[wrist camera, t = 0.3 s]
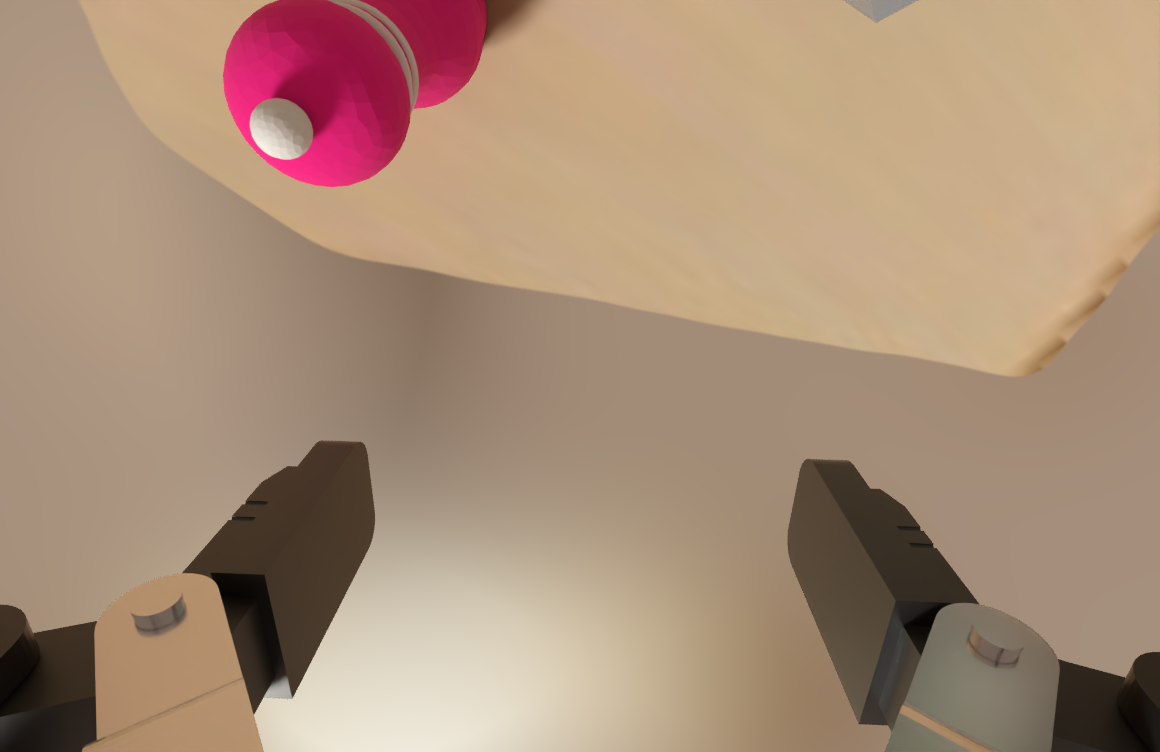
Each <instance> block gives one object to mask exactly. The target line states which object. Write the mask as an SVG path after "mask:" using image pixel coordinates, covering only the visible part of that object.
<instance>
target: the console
mask: <svg viewBox="0 0 1160 752" xmlns="http://www.w3.org/2000/svg"><path fill="white" fill-rule="evenodd" d="M844 1H845V2H847V3H848V4H849V5H851V6H852V7H854V8H855V9H857V10H858V11H860V12H861V13H863V14H864V15H866V16H867V17H868V18H870V19H871V20H873V21H874V22H876V23H877V22H879V21H881V20H882V19H884V18H886V17H888V16H890V15H892V14H894V13H895V12H897V11H899V10H901V9H903V8H905V7H906V6H908V5H910V4H912V3H914V2H916V1H917V0H844Z"/></svg>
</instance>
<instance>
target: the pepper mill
mask: <svg viewBox="0 0 1160 752" xmlns="http://www.w3.org/2000/svg"><path fill="white" fill-rule="evenodd" d="M486 25H487V13H486V3H485V0H278V1H275V2H273V3H270V4H267V5H265V6H264V7H262V8H260V9H259V10H257V11H256V12H255V13H253V14H252V15H251V16H250V17H249V18H248V19H247V20H246V21H245V22H243V24H242V25H241V26H240V28H239V29H238V31H237V32H236V33H235V35H234V36H233V39H232V41H231V43H230V46H229V48H228V50H227V53H226V58H225V65H224V72H223V80H224V92H225V97H226V100H227V103H228V107H229V110H230V112H231V114H232V116H233V119H234V121H235V123H236V125H237V127H238V128H239V130H240V132H241V133H242V135H243V136H244V138H245V140H246V141H247V142H248V143H249V144H250V146H251V147H252V148H253V149H254V150H255V151H256V152H257V154H259V155H260V156H261V157H262V158H263V159H264V160H265V161H266V162H268V163H269V164H270V165H272V166H273V167H275V168H276V169H277V170H279V171H280V172H282V173H283V174H286V175H288V176H290V177H292V178H294V179H296V180H298V181H301V182H305V183H309V184H312V185H317V186H327V187H337V186H348V185H352V184H354V183H357V182H360V181H363V180H366V179H369V178H370V177H372V176H374V175H376V174H377V173H378V172H379V171H381V170H382V169H383V168H384V167H386V166H387V165H388V164H389V163H390V162H391V161H392V159H393V158H394V157H395V155H396V154H397V153H398V151H399V150H400V148H401V146H402V144H403V142H404V140H405V137H406V134H407V130H408V127H409V123H410V114H411V112H412V110H413V109H416V108H426V107H430V106H434V105H437V104H440V103H442V102H444V101H446V100H447V99H449V98H450V97H452V96H453V95H455V94H456V93H457V92H458V91H460V90H461V89H462V88H463V87H464V86H465V85H466V84H467V83H468V82H469V80H470V78H471V77H472V75H473V74H474V72H475V70H476V68H477V65H478V63H479V60H480V56H481V52H482V46H483V39H484V35H485V32H486Z"/></svg>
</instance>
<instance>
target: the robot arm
mask: <svg viewBox="0 0 1160 752" xmlns="http://www.w3.org/2000/svg"><path fill="white" fill-rule="evenodd" d="M371 487H372V486H371V479H370V470H369V463H368V455H367V450H366V447H365V445H364V444H363V443H362V442H348V441H347V442H346V441H319V442H317V443H316V444H315V446H314V447H313V448H312V449H311V451H310V452H309V453H308V454H307V455H306V457H305V458H304V459H303V460H302V461H301V463H300V464H299V465H298V466H297V467H292V466H287V467H286V468H284V469H283V470H281V471H279V472H278V473H276V474H274V475H273V476H271V477H270V478H268V479H266V480H265V481H263V482H262V483H261V484H260V485H259V486H258V487H257V488H256V489H255V491H254V492H253V493H252V494H251V495H250V496H249V497H248V499H247V500H246V504H245V505H242V506H241V507H240V508H239V509H238V510H237V511H236V512H235V513H234V515H233V516H232V520H228V521H227V523H226V524H225V525H224V526H223V527H222V528H221V529H220V531H219V532H218V533H217V534H216V535H215V536H214V537H213V538H212V540H211V541H210V542H209V543H208V544H207V546H205V548H204V549H203V550H202V551H201V552H200V553H199V555H198V556H197V557H196V558H195V559H194V560H193V561H192V562H191V564H190V565H189V566H188V567H187V568H186V569H185V570H184V571H183V573H182V574H173V575H168V576H164V577H160V578H157V579H154V580H151V581H148V582H146V583H144V584H141V585H139V586H137V587H135V588H133V589H131V590H130V591H128V592H126V593H125V594H123V595H122V596H120V597H119V598H118V599H116V600H115V601H114V602H113V603H111V604H110V605H109V606H108V607H107V608H106V609H105V611H104V612H103V613H102V614H101V616H100V617H99V619H98V621H95V622H90V623H85V624H79V625H74V626H69V627H63V628H58V629H53V630H48V631H43V632H37V633H33V632H32V630H31V627H30V626H29V623H28V620H27V618H26V616H25V614H24V613H23V612H22V610H20V609H18V608H16V607H13V606H9V605H0V752H264V751H263V747H262V744H261V740H260V737H259V733H258V729H257V725H256V722H255V718H254V713H255V712H256V710H257V708H258V706H259V705H260V703H261V701H262V699H263V698H284V699H292V698H293V696H294V694H295V692H296V690H297V688H298V686H299V685H300V683H301V681H302V679H303V677H304V675H305V673H306V671H307V669H308V667H309V665H310V663H311V661H312V659H313V657H314V655H315V653H316V651H317V649H318V647H319V645H320V643H321V641H322V639H323V637H324V635H325V633H326V631H327V629H328V628H329V626H330V623H331V622H332V620H333V618H334V616H335V614H336V612H337V610H338V608H339V606H340V604H341V602H342V600H343V598H344V596H345V594H346V592H347V590H348V588H349V586H350V584H351V582H352V580H353V578H354V576H355V574H356V573H357V570H358V569H359V566H360V564H361V563H362V561H363V559H364V557H365V555H366V553H367V551H368V549H369V547H370V544H371V541H372V538H373V533H374V525H375V510H374V502H373V494H372V488H371ZM788 552H789V557H790V562H791V564H792V567H793V569H794V572H795V574H796V577H797V579H798V581H799V584H800V586H801V588H802V591H803V593H804V595H805V598H806V600H807V603H808V605H809V607H810V610H811V612H812V614H813V617H814V619H815V621H816V624H817V626H818V629H819V631H820V633H821V636H822V638H823V640H824V642H825V645H826V647H827V650H828V652H829V655H830V657H831V659H832V661H833V664H834V666H835V669H836V671H837V674H838V676H839V678H840V681H841V683H842V685H843V688H844V690H845V693H846V695H847V697H848V700H849V702H850V704H851V707H852V709H853V711H854V714H855V716H856V719H857V721H858V723H859V724H872V725H888V726H889V728H890V730H891V732H892V733H891V736H890V739H889V742H888V744H887V747H886V750H885V752H1160V652H1151V653H1145V654H1143V655H1140V656H1139V657H1138V658H1137V659H1136V660H1135V661H1134V663H1133V665H1132V667H1131V669H1130V671H1129V673H1128V675H1127V676H1126V678H1125V677H1121V676H1117V675H1113V674H1110V673H1106V672H1103V671H1099V670H1095V669H1091V668H1088V667H1084V666H1080V665H1076V664H1073V663H1069V662H1065V661H1062V660H1059V659H1057V656H1056V654H1055V653H1054V651H1053V649H1052V648H1051V647H1050V645H1049V644H1048V643H1047V642H1046V641H1045V640H1044V639H1043V638H1042V637H1041V636H1040V635H1039V634H1038V633H1037V632H1035V631H1034V630H1033V629H1032V628H1030V627H1029V626H1027V625H1026V624H1025V623H1023V622H1022V621H1020V620H1018V619H1016V618H1014V617H1013V616H1011V615H1008V614H1006V613H1004V612H1002V611H999V610H997V609H994V608H991V607H987V606H984V605H980V604H979V603H978V602H977V600H976V599H975V598H974V596H973V595H972V594H971V593H970V591H969V590H968V589H967V587H966V586H965V585H964V584H963V582H962V581H961V580H960V578H959V577H958V576H957V574H956V573H955V572H954V570H953V569H952V568H951V566H950V565H949V564H948V562H947V561H946V560H945V559H944V557H943V556H942V555H941V553H940V552H939V551H938V549H937V548H934V547H933V543H932V541H931V540H930V539H929V538H928V536H927V535H926V534H925V532H924V531H921V530H920V526H919V524H918V523H917V522H916V520H915V519H914V518H913V517H912V515H911V514H910V513H909V511H908V510H907V509H906V508H905V506H903V505H902V504H900V503H899V502H897V501H896V500H895V499H893V498H892V497H891V496H889V495H888V494H886V493H885V492H884V491H882V490H881V489H870V488H869V486H868V485H867V484H866V482H865V481H864V479H863V478H862V476H861V475H860V474H859V472H858V471H857V469H856V468H855V467H854V465H853V464H852V463H851V462H850V461H847V460H846V461H845V460H819V459H818V460H817V459H806V460H805V461H804V462H803V464H802V466H801V469H800V472H799V478H798V483H797V488H796V493H795V498H794V503H793V508H792V513H791V518H790V523H789V529H788Z"/></svg>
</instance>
